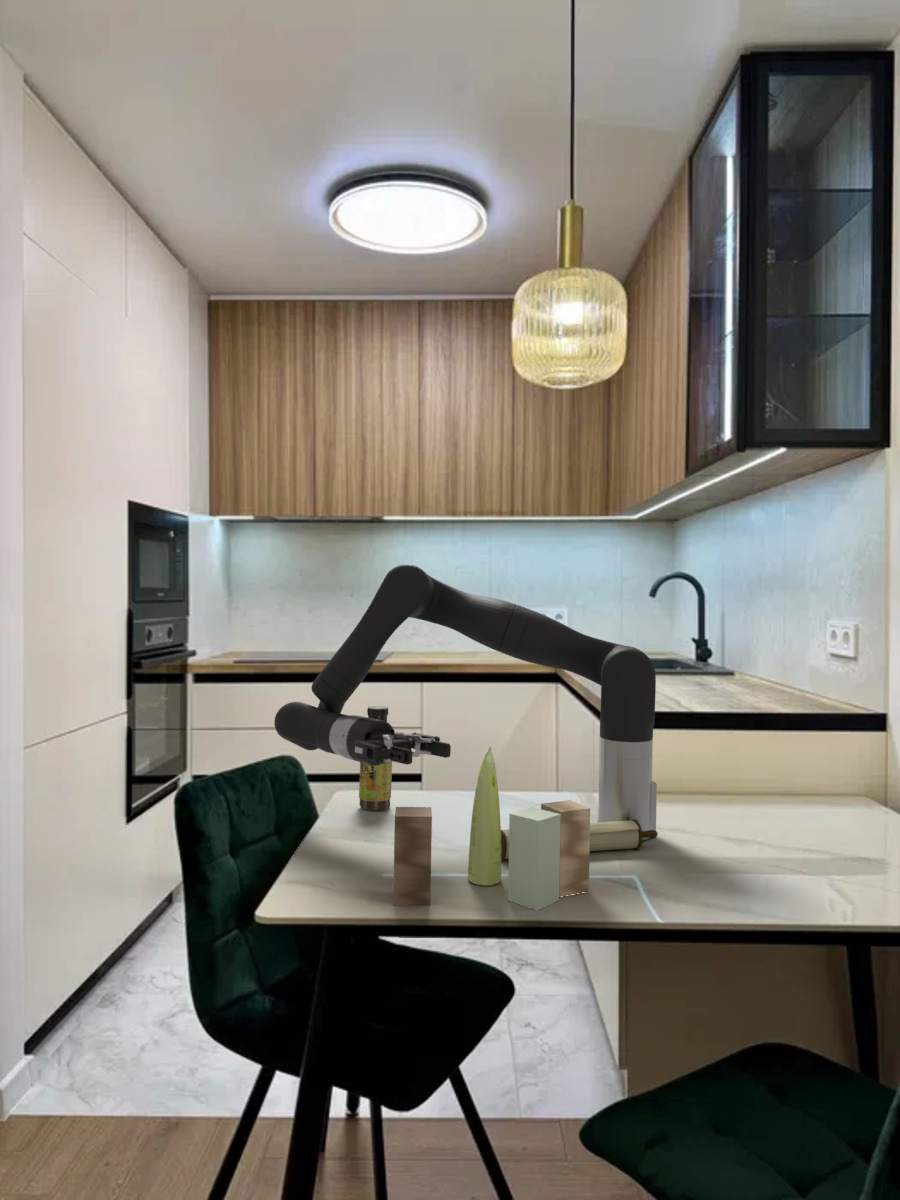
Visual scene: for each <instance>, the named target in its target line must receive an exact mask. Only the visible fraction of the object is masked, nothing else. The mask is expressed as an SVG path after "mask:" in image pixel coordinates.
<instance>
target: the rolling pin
mask: <svg viewBox="0 0 900 1200" xmlns="http://www.w3.org/2000/svg"><path fill="white" fill-rule="evenodd" d="M643 837H648V838H649V839H655V838H656V837H658V831H657V830H656V831H655V830H648V831H642V829H641V826H640V824H639V823H638V821H637V820H630V821H612V822H598V821H597V822H596V821H595V822H590V851H589V852H599V851H612V850H627V849H628V850H629V849H634V850H636V851H639V850H640V849H641V848H642V846H643V842H644V841H643ZM504 860H509V829H501V862H504Z"/></svg>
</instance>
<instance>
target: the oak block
mask: <svg viewBox="0 0 900 1200" xmlns="http://www.w3.org/2000/svg"><path fill="white" fill-rule="evenodd" d="M540 809H541V810H545V811H550V812H554V813H558V814H561V821H560V876H559V897H561V896H566V895H571V894H577V893H582V892H588V891H589V892H590V890H589V889H590V852H591V851H590V823H591V807H588V806H585V805H583V804H580V803H578V802H575V801H573V800H570V799H569V800H568V799H567V800H560V801H553V802H542V803H541V804H540Z"/></svg>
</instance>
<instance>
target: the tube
mask: <svg viewBox="0 0 900 1200" xmlns="http://www.w3.org/2000/svg"><path fill="white" fill-rule="evenodd" d="M495 763H496V762H495V758H494V753H493V751H492V745H491V743H489V746H488V747H487V750H486V752H485V754H484V758H483V760H482V763H481V765H480V769H479V771H478V777H477V780H476V781H477V782H476V787H475V791H474V799H473V804H472V815H471V824H470V835H469V836H470V837H469V851H468V867H467V869H468V870H467V879H468V881H469V882H470V883H472V884H474V885H478V886H486V887H487V886H495V885H497V884H499V883H500V882H502V881H501V880H502V861H501V830H502V827H501V811H500V810H501V808H500V807H501V806H500V795H499V787H498V786H499V785H498V777H497V769H496V764H495Z"/></svg>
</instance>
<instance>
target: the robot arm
mask: <svg viewBox="0 0 900 1200" xmlns="http://www.w3.org/2000/svg"><path fill="white" fill-rule="evenodd" d="M409 618H411V619H417V620H422V621H424V622H427V623H432V624H436V625H439V626H443V627H446V628H449V629H451V630H453V631H456V632H457V633H460V634H461V635H463V636H465V637H466V638H469V639H471V640H473V641H474V642H477V643H479V644H481V645H482V646H485V647H487V648H489V649H492V650H494V651H496V652H499V653H501V654H504V655H507V656H508V657H511V658H515V659H516V660H517V659H518V660H521V661H523V662H526V663H531V664H533V665H538V666H543V667H547V668H555V669H559V670H564V671H567V672H570V673H572V674H573V673H574V674H576V675H578V676H579V677H580V676H581V677H582V678H585V679H587V680H590V681H591V682H594V683H595V684H597V685H599V686H600V690H601V691H600V692H601V693H600V714H599V716H600V717H599V718H600V719H599V745H598V746H599V753H598V755H599V756H598V757H599V758H598V759H599V762H598V763H599V765H598V766H599V767H598V804H597V805H598V806H597V807H598V808H597V812H598V813H597V814H598V815H597V817H598V818H597V822H612V821H630V820H637V821H638V823H639V824H640V826H641V829H642V831H648V830H655V831H657V805H658V804H657V802H658V800H657V799H658V797H657V796H658V790H657V789H658V786H657V785H658V783H656V781H653V755H654V754H653V750H654V749H653V748H654V747H653V745H654V740H653V739H654V726H655V720H656V719H655V717H656V715H655V714H656V694H657V693H656V690H657V687H656V686H657V685H656V684H657V682H656V681H657V679H656V678H657V677H656V669H655V665H654V663H653V661H652V659H651V658H650V657H649V656H648V655H647V654H646V653H644V652H643V651H642V650H641V649H639V648H636V647H634V646H630V645H625V644H624V645H623V644H620V643H614V642H611V641H607V640H603V639H599V638H596V637H592V636H590V635H586V634H583V633H581V632H579V631H577V630H576V629H573V628H572V627H570V626H567V625H565V624H564V623H562V622H560V621H557V620H555V619H553V618H552V617H549V616H547V615H545V614H542V613H540V612H538V611H536V610H533V609H530V608H528V607H524V606H522V605H519V604H516V603H513V602H510V601H507V600H502V599H498V598H495V597H491V596H490V597H489V596H484V595H479V594H473V593H468V592H466V591H462V590H459V589H457V588H455V587H452V586H451V585H448V584H447V583H444V582H442V581H441V580H438V579H436V578H434V577H432V576H431V575H429V574H428V573H427V572H426V571H424V569H422V568H421V567H419V566H417V565H414V564H410V563H404V564H399V565H397V566H395V567H393V568H391V569H390V570H389V571H388V572H387V574H386V575H385V577H384V578H383V581H382V582H381V583H380V586H379V587H378V589H377V591H376V593H375V595H374V597H373V599H372V600H371V602H370V605H369V606H368V607H367V609H366V611H365V612H364V613H363V615H362V617H361V619H360V620H359V621H358V623H357V624H356V626H355V627H354V628H353V630H352V631H351V633H350V634H349V636H348V637H347V638H346V640H345V641H344V642H343V643H342V645H341V646H340V647H339V648H338V650H337V651H335V653H334V654H333V656H332V657H331V658H330V660H329V661H328V662H327V663H326V665H325V666H324V667H323V669H322V670H321V671H320V672H319V674H318V675H317V676H316V678H315V679H314V681H313V682H312V684H311V691H312V693H313V695H314V696H315V697H316V698H317V699H318V700H319V703H318V705H317V707H316V706H314V705H311V704H308V703H305V702H303V701H302V702H301V701H291V702H288V703H286V704H284V705H282V706H281V707H280V708H279V709H278V711H277V712H276V714H275V717H274V728H275V731H276V732H277V734H278V736H279V737H280V738H282V739H283V740H286V741H288V742H290V743H292V744H294V745H296V746H298V747H299V748H302V749H304V750H307V751H317V750H318V749H319V750H321V751H323V752H325V753H329V754H331V755H332V754H333V755H337V756H341V757H342V758H345V759H348V760H350V761H354V762H359V763H360V762H362V763H366V764H370V765H381V764H383V763H385V762H392V763H394V762H395V763H399V764H402V765H406V766H407V765H411V764H412V763H413V758H418V757H420V755H429V756H436V757H441V758H450V757H451V743H449V742H448V743H447V742H442V741H441V737H439V736H437V735H436V736H434V735H429V734H423V733H419V732H418V733H417V732H412V733H411V734H409V733H408V734H407V733H404V732H401V731H400V732H398V731H395V729H394V726H392V725H391V723H389V722H388V721H387V722H386V721H383V720H378V719H373V718H368V716H367V717H366V716H363V715H362V716H361V715H356V714H352V715H349V714H343V713H342V711H343V708H344V706H345V704H346V702H347V701H348V700H349V699H350V697H351V696H352V695H353V694H354V692H355V691H356V690H357V688H358V687H359V686H361V685H360V684H362V682H363V681H364V679H365V678H366V676H367V675H368V674H369V672H370V671H371V668H372V666H374V665H373V664H374V663H375V661H376V660H377V658H378V656H379V654H380V653H381V651H382V649H384V646H385V644H386V643H387V642H388V640H389V639H390V638H391V636H392V635H393V634H394V633H395V631H397V629H399V627H400V626H401V625H402V624H403V623H405V621H406V620H408V619H409ZM412 749H413V750H415V751H413V750H412ZM649 839H650V838H648V837H643V841H642V842H644V841H647V840H649Z"/></svg>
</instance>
